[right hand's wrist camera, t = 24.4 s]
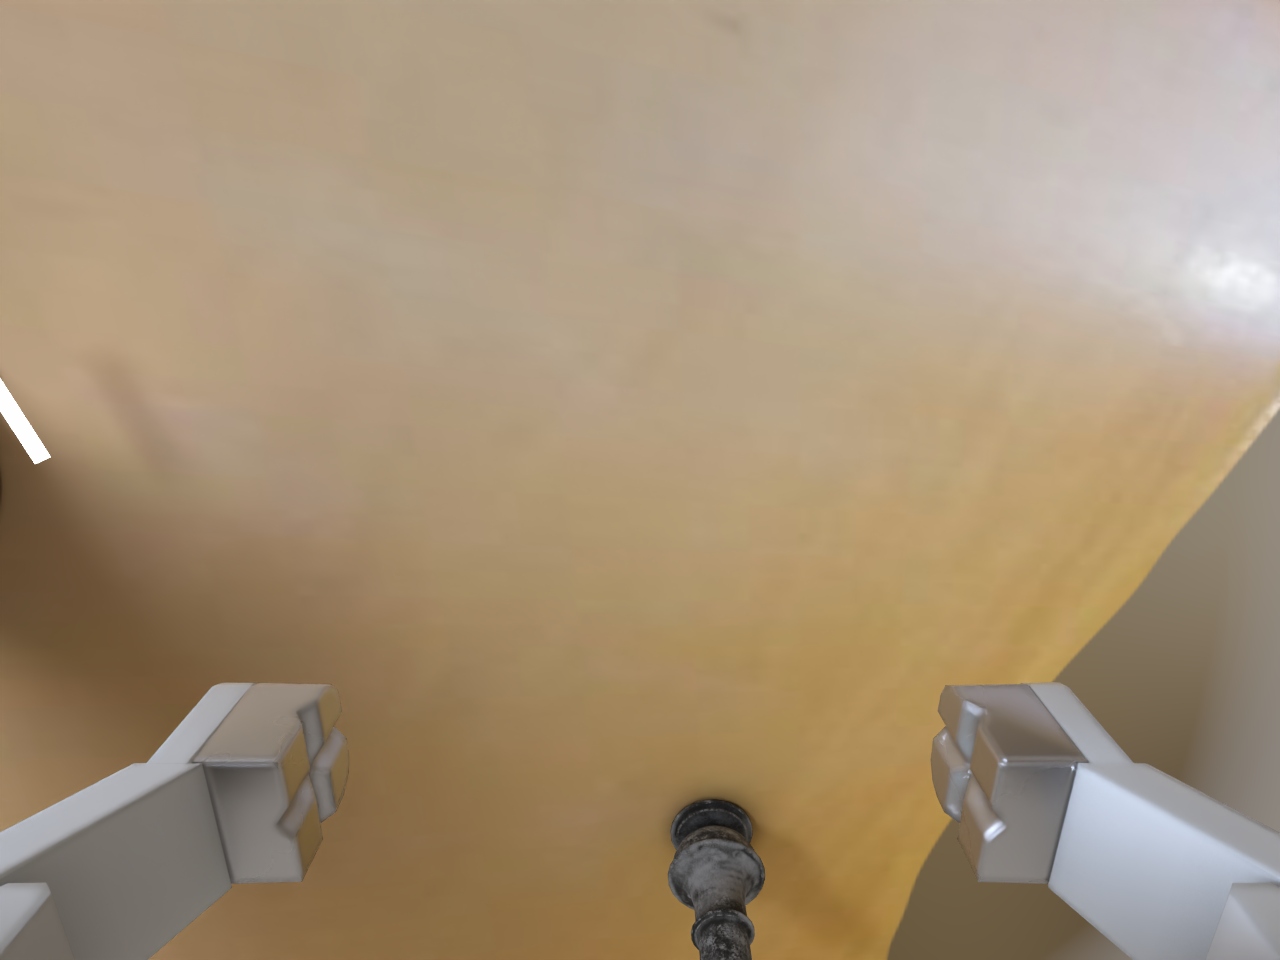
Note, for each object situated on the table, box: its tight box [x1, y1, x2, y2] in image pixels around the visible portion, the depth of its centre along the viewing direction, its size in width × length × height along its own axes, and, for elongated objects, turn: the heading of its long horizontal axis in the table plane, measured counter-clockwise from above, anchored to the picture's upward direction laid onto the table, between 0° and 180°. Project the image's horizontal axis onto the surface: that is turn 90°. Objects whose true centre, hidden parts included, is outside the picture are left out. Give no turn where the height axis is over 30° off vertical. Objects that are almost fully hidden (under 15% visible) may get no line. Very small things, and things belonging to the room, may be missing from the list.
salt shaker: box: [668, 800, 765, 960], centre depth 45 cm, size 6×6×12 cm
